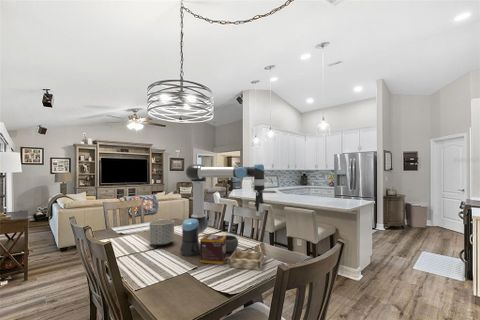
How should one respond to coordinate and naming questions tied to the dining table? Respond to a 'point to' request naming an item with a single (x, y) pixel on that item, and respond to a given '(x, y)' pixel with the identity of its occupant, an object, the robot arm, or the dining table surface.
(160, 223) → the planter
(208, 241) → the supplement box
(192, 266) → the dining table surface
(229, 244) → the bowl
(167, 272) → the dining table surface
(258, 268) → the crate
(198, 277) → the dining table surface
